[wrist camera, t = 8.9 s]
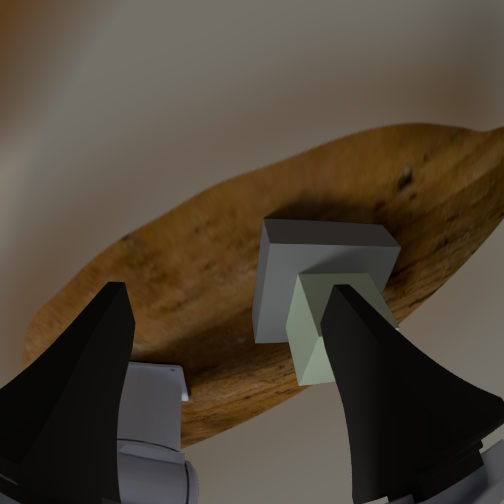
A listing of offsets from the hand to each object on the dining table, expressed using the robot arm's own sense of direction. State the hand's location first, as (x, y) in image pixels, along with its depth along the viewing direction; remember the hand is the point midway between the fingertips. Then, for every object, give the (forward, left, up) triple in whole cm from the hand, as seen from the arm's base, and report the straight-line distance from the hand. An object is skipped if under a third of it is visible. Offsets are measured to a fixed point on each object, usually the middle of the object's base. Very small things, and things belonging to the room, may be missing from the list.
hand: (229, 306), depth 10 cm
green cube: (+7, -6, -6) cm, 11 cm away
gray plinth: (+7, -6, -9) cm, 13 cm away
